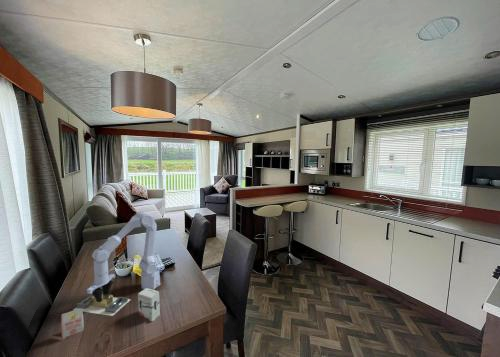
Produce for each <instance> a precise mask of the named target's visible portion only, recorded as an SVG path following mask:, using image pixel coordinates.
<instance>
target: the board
mask: <svg viewBox="0 0 500 357" xmlns="http://www.w3.org/2000/svg"><path fill="white" fill-rule="evenodd" d="M117 299H118V297H116V296H115V297H114V296H113V302H114V301H115V300H117ZM131 300H132V299H130V298H128V302H125V303H124V304H123V305H122V306H121V307H120V308H118V309H117V310H116V312H115V313H111V312H105V308H106V307H101V306H94V305H91V304H90V305H89V306H87V308H86V309H82V311H83V313H91V314H96V315H97V314H98V315H104V316H111V317H113V316H114V315H116V314H117V313H118V312H119V311H120V310H121V309H122V308H123V307H124V306H126V305H127V303H129V302H130V301H131ZM78 309H81V308H77V306H76V307H74V308H73V309H72V311H75V310H78Z"/></svg>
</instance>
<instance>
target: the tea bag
mask: <svg viewBox="0 0 500 357" xmlns="http://www.w3.org/2000/svg"><path fill="white" fill-rule="evenodd" d="M83 313H84V312H83V311H82V308H81V309H78V310H71V311H68V312H65V313H62V314H60V316H61V317H60V324H61V325H60V327H61V328H60V329H61V330H60V331H61V341H65V340H67V339H69V337H70V336H72V335H75V334H78V333H82V332H84V326H85V325H84V324H85V323H84V314H83Z"/></svg>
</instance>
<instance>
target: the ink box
mask: <svg viewBox="0 0 500 357" xmlns="http://www.w3.org/2000/svg"><path fill="white" fill-rule="evenodd" d="M137 299H138V300H137V301H138V302H137V303H138V315H139V316H140V317H144V318H146V319H148V321H149V322H154V321H155V320H156V319H157V318H158V317H160V316H161V308H160V307H161V306H160V303H161V302H160V292H159V290H155V289H154V290H153V289H149V288H145V289H142V290H141V291H140V292H138V294H137Z"/></svg>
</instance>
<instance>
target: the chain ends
mask: <svg viewBox="0 0 500 357" xmlns="http://www.w3.org/2000/svg"><path fill="white" fill-rule="evenodd" d="M92 296H94V295H93V294H92V293H91V294H90V295H89V296H88V297H86V298H85V299H83V300H81V301H80V302H77V303H76V307H77V308H82V309H86V308H87V306H89V305H90V304H91V297H92ZM117 298H118V299H117V300H115V301H114V302H113V303H112V304H111V305H109V306H108V307H106V308H105V312H111V313H115V312H116V310H117V309H118V308H120V307H121V306H122V305H123V304H124V303H125V302H128V299H129V298H128V297H125V296H118V297H117ZM128 303H129V302H128ZM116 313H117V312H116ZM116 313H115V314H116Z"/></svg>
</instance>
